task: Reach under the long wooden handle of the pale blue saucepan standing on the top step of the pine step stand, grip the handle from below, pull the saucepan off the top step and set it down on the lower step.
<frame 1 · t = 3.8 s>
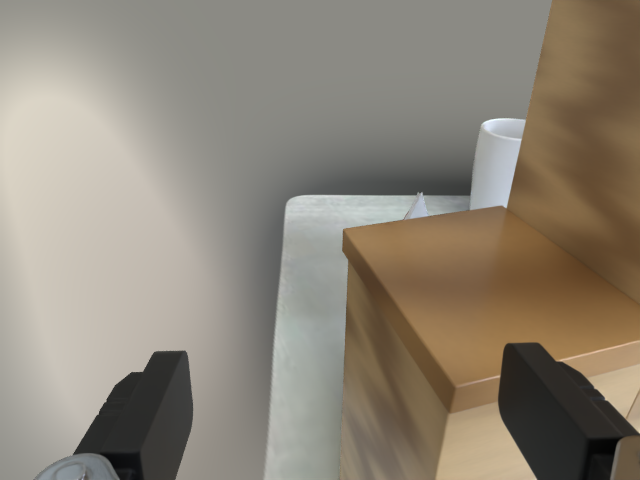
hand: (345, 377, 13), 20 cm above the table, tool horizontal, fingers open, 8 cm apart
milk carton: (403, 299, 49), on the table
drinking glass: (488, 262, 55), on the table
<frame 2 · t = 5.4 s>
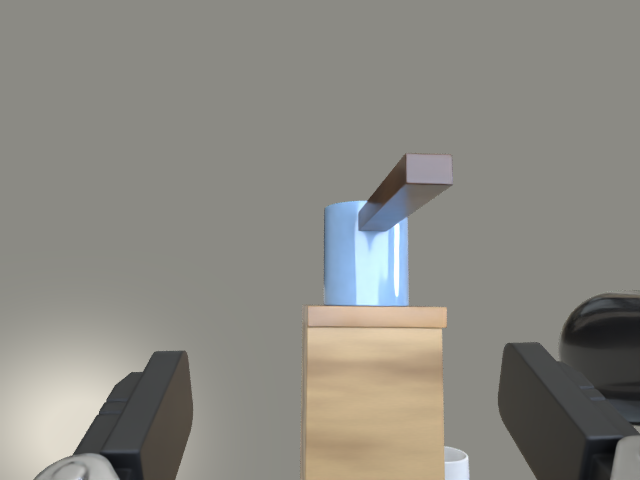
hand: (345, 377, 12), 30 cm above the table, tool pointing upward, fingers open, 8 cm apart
pale blue saucepan: (365, 305, 33), point 32 cm above the table, touching step stand
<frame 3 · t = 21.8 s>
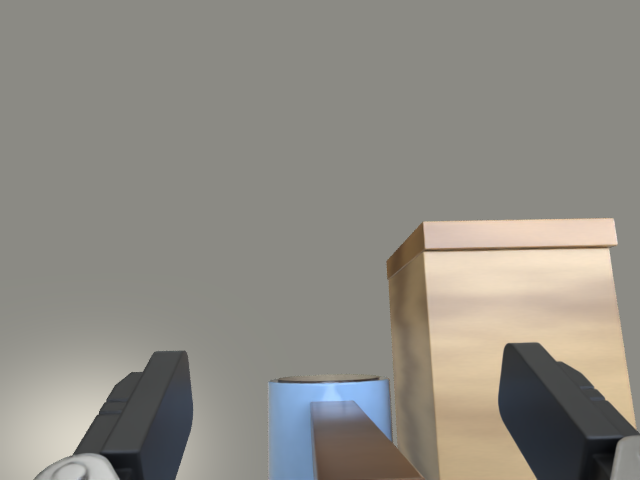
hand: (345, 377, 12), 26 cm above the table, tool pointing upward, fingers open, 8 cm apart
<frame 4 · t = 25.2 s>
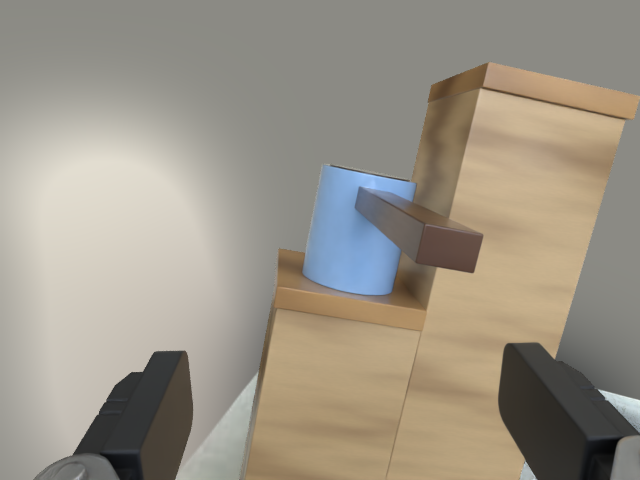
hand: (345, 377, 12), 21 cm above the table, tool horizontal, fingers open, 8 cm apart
pale blue saucepan: (347, 280, 30), point 19 cm above the table, touching step stand
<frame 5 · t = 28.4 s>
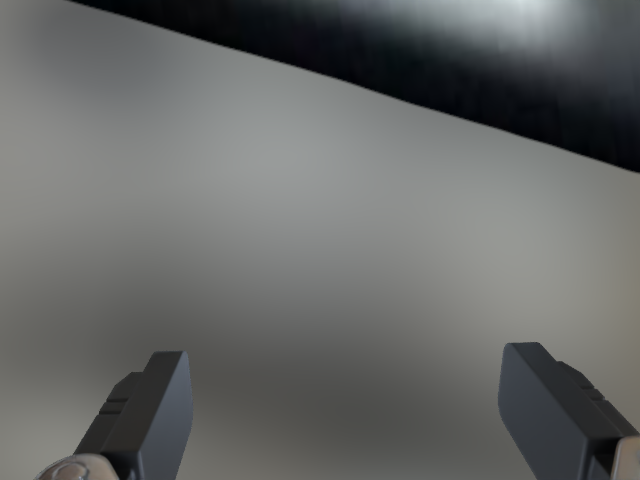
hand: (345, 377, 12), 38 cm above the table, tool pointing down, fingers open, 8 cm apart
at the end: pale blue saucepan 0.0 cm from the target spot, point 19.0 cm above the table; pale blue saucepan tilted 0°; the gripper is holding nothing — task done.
